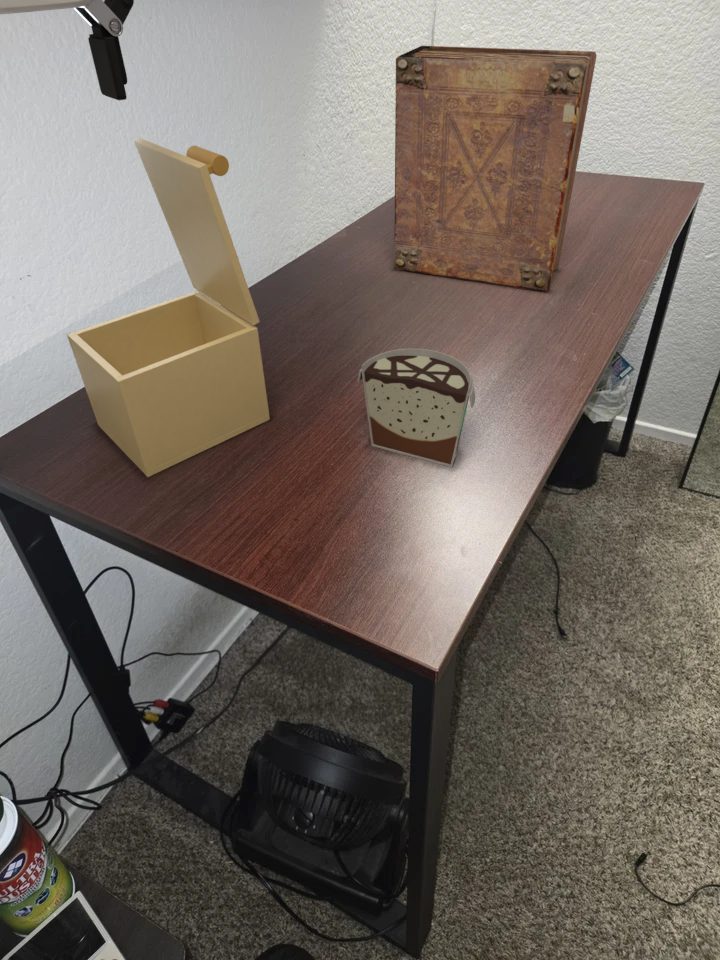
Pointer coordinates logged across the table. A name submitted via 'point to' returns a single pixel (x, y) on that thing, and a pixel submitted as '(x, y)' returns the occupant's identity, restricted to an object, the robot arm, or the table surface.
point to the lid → (199, 222)
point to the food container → (417, 402)
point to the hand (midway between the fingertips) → (53, 107)
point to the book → (487, 160)
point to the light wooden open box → (172, 379)
